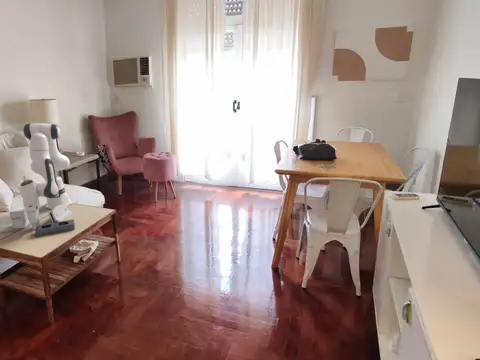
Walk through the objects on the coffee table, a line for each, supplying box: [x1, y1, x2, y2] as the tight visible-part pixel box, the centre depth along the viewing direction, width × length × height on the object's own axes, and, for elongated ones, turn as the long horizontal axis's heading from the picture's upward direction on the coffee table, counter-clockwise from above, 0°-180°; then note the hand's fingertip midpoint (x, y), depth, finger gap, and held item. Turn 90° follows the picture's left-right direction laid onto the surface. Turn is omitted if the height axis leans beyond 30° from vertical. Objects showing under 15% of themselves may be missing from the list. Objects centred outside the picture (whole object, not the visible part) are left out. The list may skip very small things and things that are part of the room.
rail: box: [34, 219, 76, 238], centre depth 223 cm, size 8×22×4 cm, turn 115°
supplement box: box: [9, 206, 30, 230], centre depth 230 cm, size 7×7×13 cm
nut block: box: [31, 216, 42, 231], centre depth 227 cm, size 4×4×8 cm
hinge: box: [48, 204, 73, 223], centre depth 242 cm, size 17×5×10 cm, turn 174°
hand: (36, 224), depth 228 cm, fingers closed on nut block, 4 cm apart
